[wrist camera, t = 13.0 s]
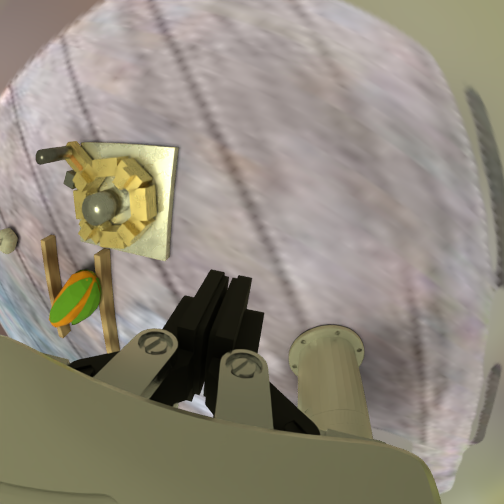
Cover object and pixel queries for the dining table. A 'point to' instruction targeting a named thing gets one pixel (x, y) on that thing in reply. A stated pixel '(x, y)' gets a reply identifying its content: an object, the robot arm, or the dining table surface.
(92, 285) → the corn
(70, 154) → the tan angular piece
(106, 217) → the housing plate
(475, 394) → the dining table surface
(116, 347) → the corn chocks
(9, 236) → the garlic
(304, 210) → the dining table surface
